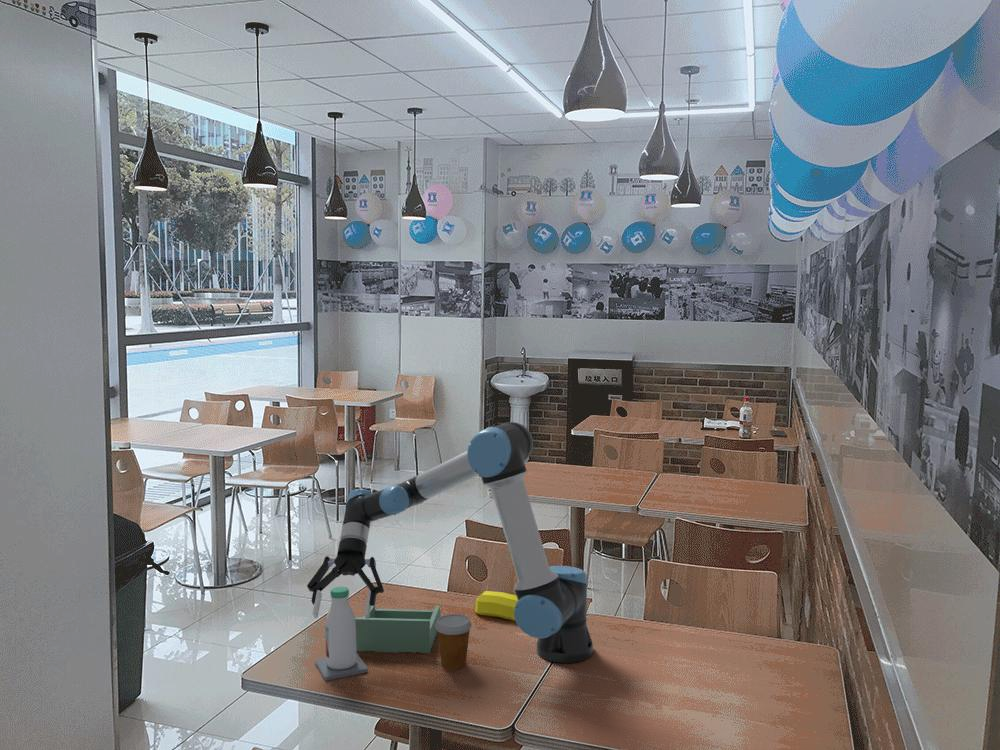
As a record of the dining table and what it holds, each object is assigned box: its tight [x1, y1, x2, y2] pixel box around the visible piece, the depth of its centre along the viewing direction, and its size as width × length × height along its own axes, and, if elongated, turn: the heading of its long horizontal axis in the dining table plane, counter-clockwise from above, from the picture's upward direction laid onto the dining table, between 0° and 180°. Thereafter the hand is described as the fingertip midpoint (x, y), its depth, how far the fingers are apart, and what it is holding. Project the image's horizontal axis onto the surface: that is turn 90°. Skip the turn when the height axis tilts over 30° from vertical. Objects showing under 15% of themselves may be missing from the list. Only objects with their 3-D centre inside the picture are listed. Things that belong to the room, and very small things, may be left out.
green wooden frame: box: [355, 604, 442, 654], centre depth 235 cm, size 20×20×9 cm
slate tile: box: [314, 653, 369, 682], centre depth 216 cm, size 11×11×1 cm
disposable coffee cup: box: [435, 613, 472, 670], centre depth 217 cm, size 10×10×12 cm
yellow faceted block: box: [473, 590, 518, 622], centre depth 251 cm, size 18×7×8 cm
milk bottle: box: [325, 586, 358, 670], centre depth 215 cm, size 8×8×20 cm
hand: (340, 616), depth 216 cm, fingers open, 13 cm apart
